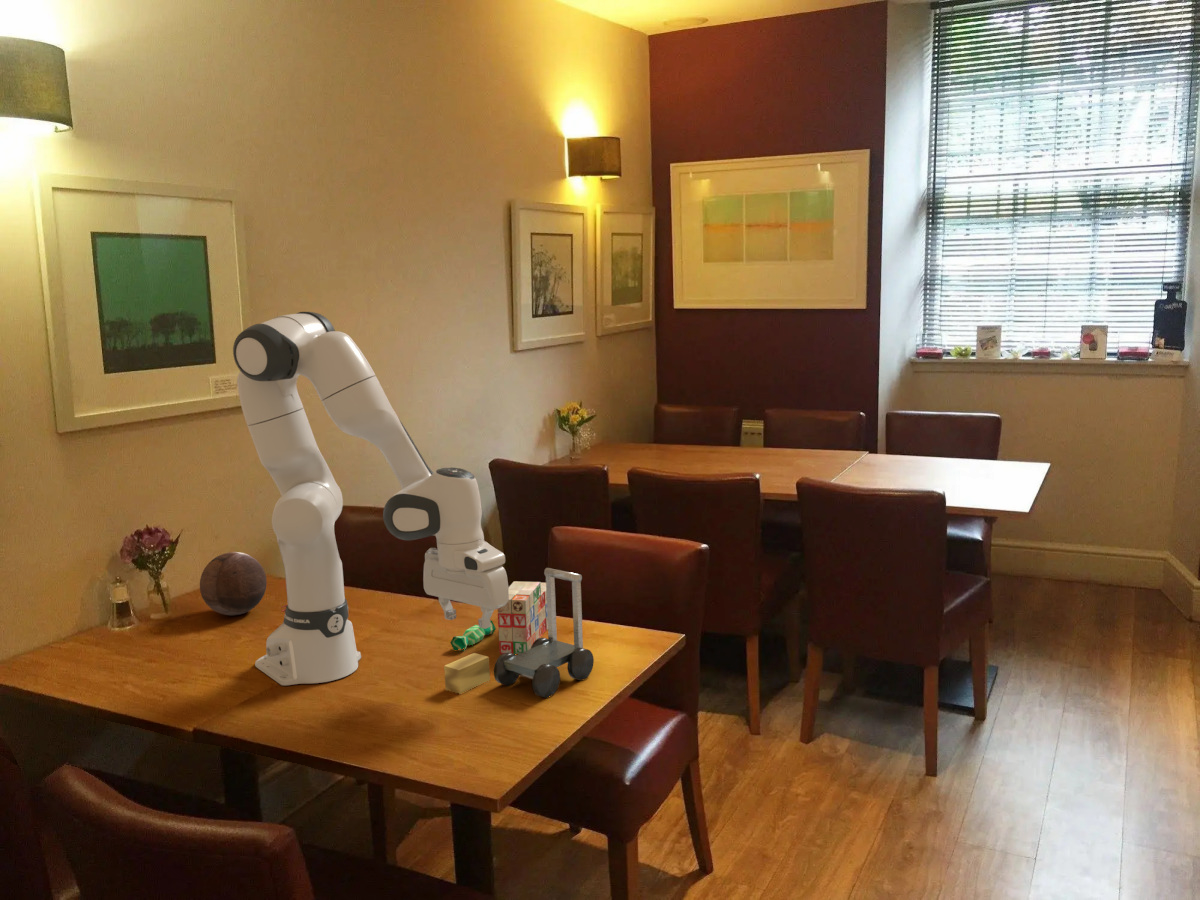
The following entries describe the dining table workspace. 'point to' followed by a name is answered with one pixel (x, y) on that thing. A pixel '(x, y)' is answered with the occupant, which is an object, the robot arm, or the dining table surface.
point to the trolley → (550, 647)
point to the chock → (466, 673)
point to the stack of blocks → (522, 617)
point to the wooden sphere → (233, 583)
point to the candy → (471, 636)
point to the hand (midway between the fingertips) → (467, 623)
